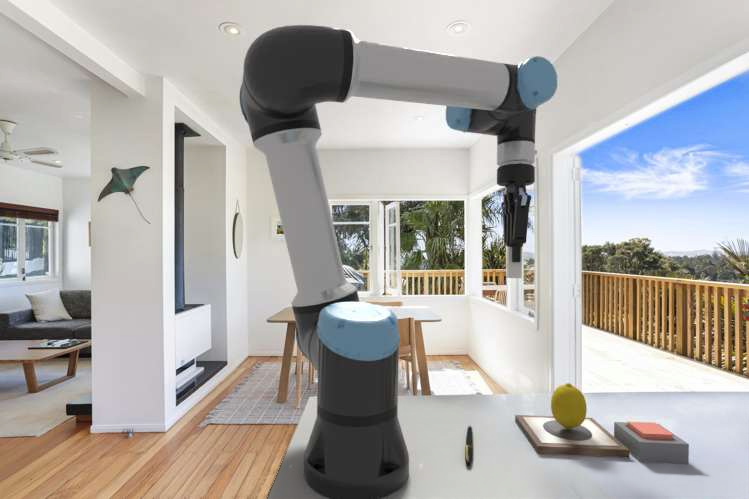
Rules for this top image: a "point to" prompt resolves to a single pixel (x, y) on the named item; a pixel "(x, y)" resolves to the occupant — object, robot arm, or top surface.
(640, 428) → the button
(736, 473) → the top surface
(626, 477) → the top surface
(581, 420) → the lemon
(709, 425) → the top surface
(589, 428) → the board
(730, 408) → the top surface
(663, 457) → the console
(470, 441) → the fountain pen
